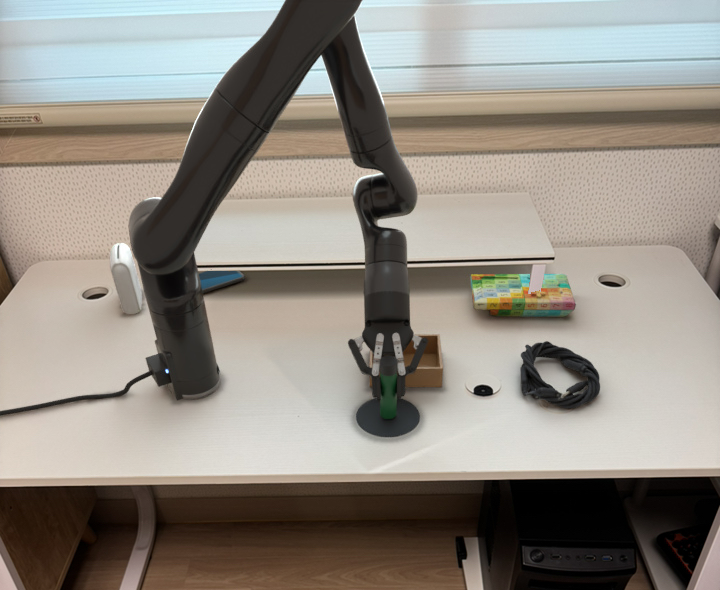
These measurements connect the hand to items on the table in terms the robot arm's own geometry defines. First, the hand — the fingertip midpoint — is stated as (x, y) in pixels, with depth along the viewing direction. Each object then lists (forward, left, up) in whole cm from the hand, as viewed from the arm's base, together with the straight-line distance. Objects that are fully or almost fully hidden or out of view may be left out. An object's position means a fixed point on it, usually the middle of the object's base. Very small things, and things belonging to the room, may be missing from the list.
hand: (389, 399), depth 114 cm
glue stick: (+1, +2, -5) cm, 5 cm away
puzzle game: (+44, +19, -6) cm, 48 cm away
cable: (+33, -5, -6) cm, 34 cm away
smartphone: (-8, +63, -6) cm, 64 cm away
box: (+11, +12, -6) cm, 17 cm away
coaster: (+1, +2, -6) cm, 6 cm away
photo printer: (-25, +64, -6) cm, 69 cm away
